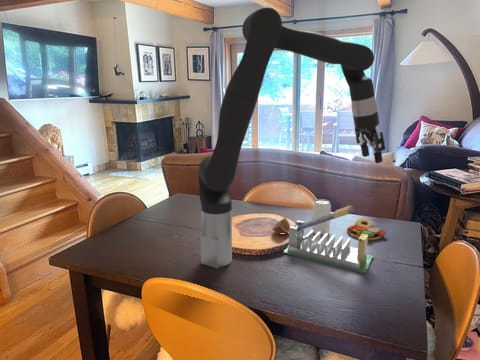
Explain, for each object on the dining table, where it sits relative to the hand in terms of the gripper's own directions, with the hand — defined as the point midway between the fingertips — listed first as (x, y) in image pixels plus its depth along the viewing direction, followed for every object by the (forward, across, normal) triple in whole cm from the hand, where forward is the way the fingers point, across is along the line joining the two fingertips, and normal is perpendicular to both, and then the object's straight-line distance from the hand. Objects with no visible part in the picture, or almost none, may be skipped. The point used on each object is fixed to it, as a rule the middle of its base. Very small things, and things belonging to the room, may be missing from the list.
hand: (372, 159), depth 118 cm
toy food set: (+30, -5, -5) cm, 31 cm away
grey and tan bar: (+13, +8, -23) cm, 27 cm away
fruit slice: (+22, -10, -35) cm, 42 cm away
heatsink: (+24, +9, -24) cm, 35 cm away
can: (+26, -9, -20) cm, 34 cm away
